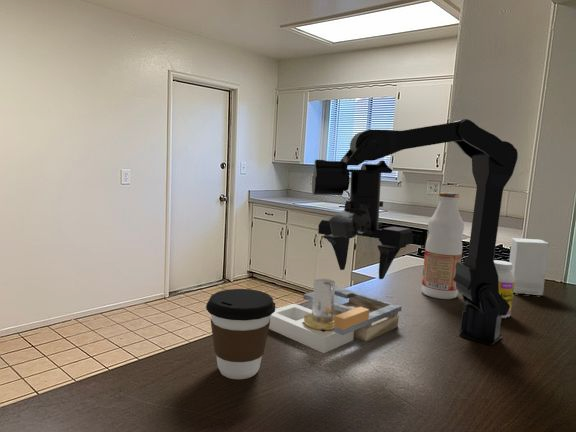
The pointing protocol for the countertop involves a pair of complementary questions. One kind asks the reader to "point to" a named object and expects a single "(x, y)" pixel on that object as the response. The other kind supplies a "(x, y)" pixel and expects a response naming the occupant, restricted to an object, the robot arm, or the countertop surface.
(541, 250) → the skincare box
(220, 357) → the coffee cup
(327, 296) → the flanged silver cylinder
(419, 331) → the countertop surface
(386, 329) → the socket block
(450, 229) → the fruit juice
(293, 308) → the white hollow block
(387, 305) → the key plate
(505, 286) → the supplement bottle
